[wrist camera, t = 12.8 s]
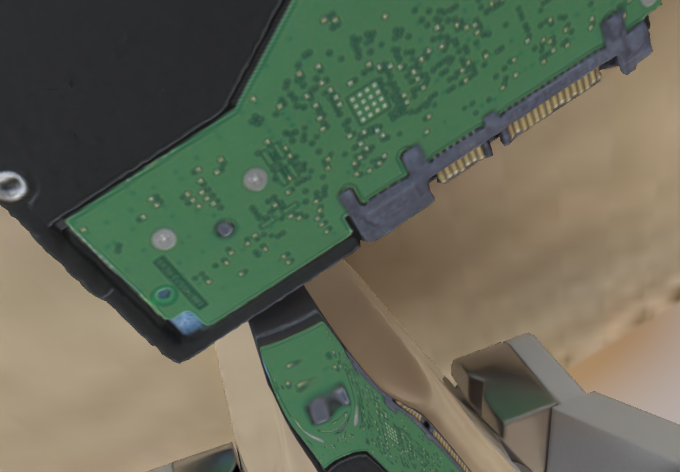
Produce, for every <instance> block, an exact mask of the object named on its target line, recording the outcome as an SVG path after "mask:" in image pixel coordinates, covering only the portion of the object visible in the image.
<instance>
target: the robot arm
mask: <svg viewBox="0 0 680 472" xmlns="http://www.w3.org/2000/svg"><path fill="white" fill-rule="evenodd" d="M451 374H452V376H453V378H454V380H455V381H456V383H457V385H456V387H455V388H456V389H457V390H458V391H459V393H460V394H461V395H462V396H463V397H464V398H465V399H466V401H467V402H468V403H469V404H470V405H471V406H472V407H473V408H474V409H475V411H476V412H477V413H478V414H479V415H480V416H481V417H482V418H483V419H484V420H485V421H486V422H487V423H488V424H489V425H490V426H491V427H492V428H493V429H494V430H495V431H496V432H497V433H498V434H499V435H500V436H501V437H502V439H503V440H504V441H505V442H506V443H507V444H508V445H509V446H510V447H511V448H512V449H513V450H514V451H515V452H516V454H517V455H518V456H519V457H520V458H521V459H522V460H523V461H524V462H525V463H526V464H527V465H528V467H529V468H530V469H531V470H532V471H533V472H680V425H679V424H676V423H673V422H671V421H669V420H666V419H664V418H661V417H658V416H656V415H653V414H651V413H648V412H646V411H643V410H641V409H638V408H636V407H633V406H631V405H628V404H625V403H623V402H621V401H618V400H615V399H613V398H610V397H608V396H605V395H602V394H600V393H597V392H595V391H593V392H590V393H586V392H585V391H584V390H583V389H582V388H581V387H580V386H579V384H578V383H577V382H576V381H575V380H574V379H573V378H572V377H571V376H570V374H569V373H568V372H567V371H566V370H565V369H564V368H563V367H562V366H561V365H560V363H559V362H558V361H557V360H556V359H555V358H554V357H553V356H552V355H551V353H550V352H549V351H548V350H547V349H546V348H545V347H544V346H543V345H542V344H541V342H540V341H539V340H538V339H537V338H536V337H535V336H534V335H532V334H530V333H525V334H522V335H520V336H517V337H514V338H512V339H509V340H506V341H504V342H499V343H496V344H494V345H491V346H489V347H486V348H483V349H481V350H478V351H475V352H473V353H470V354H468V355H465V356H462V357H460V358H457V359H454V360H453V362H452V365H451ZM146 472H241V467H240V463H239V459H238V456H237V453H236V450H235V448H234V445H233V443H232V442H231V443H228V444H225V445H222V446H219V447H216V448H213V449H210V450H207V451H204V452H201V453H198V454H195V455H192V456H189V457H186V458H183V459H180V460H177V461H174V462H172V463H169V464H166V465H163V466H161V467H158V468H155V469H152V470H149V471H146Z"/></svg>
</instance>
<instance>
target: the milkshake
mask: <svg viewBox="0 0 680 472" xmlns="http://www.w3.org/2000/svg"><path fill="white" fill-rule="evenodd" d="M214 345H215V350H216V355H217V360H218V364H219V369H220V374H221V378H222V383H223V387H224V392H225V397H226V401H227V406H228V411H229V415H230V420H231V425H232V429H233V434H234V439H235V443H236V448H237V453H238V457H239V462H240V467H241V472H533V471H532V470H531V469H530V468H529V467H528V465H527V464H526V463H525V462H524V461H523V460H522V459H521V458H520V457H519V456H518V455H517V454H516V452H515V451H514V450H513V449H512V448H511V447H510V446H509V445H508V444H507V443H506V442H505V441H504V440H503V439H502V437H501V436H500V435H499V434H498V433H497V432H496V431H495V430H494V429H493V428H492V427H491V426H490V425H489V424H488V423H487V422H486V421H485V420H484V419H483V418H482V417H481V416H480V415H479V414H478V413H477V412H476V411H475V409H474V408H473V407H472V406H471V405H470V404H469V403H468V402H467V401H466V399H465V398H464V397H463V396H462V395H461V394H460V393H459V391H458V390H457V389H456V388H455V387H454V386H453V384H452V383H451V382H450V381H449V380H448V379H447V378H446V376H445V375H444V374H443V373H442V372H441V371H440V369H439V368H438V367H437V366H436V365H435V364H434V362H433V361H432V360H431V359H430V358H429V357H428V355H427V354H426V353H425V352H424V351H423V350H422V348H421V347H420V346H419V345H418V344H417V343H416V341H415V340H414V339H413V338H412V337H411V336H410V334H409V333H408V332H407V331H406V330H405V329H404V327H403V326H402V325H401V324H400V323H399V322H398V321H397V319H396V318H395V317H394V316H393V315H392V314H391V312H390V311H389V310H388V309H387V308H386V307H385V305H384V304H383V303H382V302H381V301H380V300H379V298H378V297H377V296H376V295H375V294H374V293H373V291H372V290H371V289H370V288H369V287H368V286H367V284H366V283H365V282H364V281H363V280H362V279H361V277H360V276H359V275H358V274H357V273H356V272H355V270H354V269H353V268H352V267H351V266H350V265H349V264H348V263H347V262H346V261H345V260H344V259H342V260H340V261H339V262H338V263H336V264H335V265H333V266H332V267H330V268H329V269H327V270H325V271H323V272H322V273H320V274H319V275H318V276H317V277H315V278H313V279H312V280H311V281H309V282H307V283H305V284H304V285H302V286H300V287H299V288H298V289H296V290H295V291H293V292H291V293H290V294H288V295H286V296H285V297H284V298H283V299H282V300H280V301H278V302H276V303H274V304H273V305H272V306H271V307H269V308H267V309H266V310H264V311H262V312H261V313H259V314H257V315H255V316H254V317H253V318H251V319H250V320H249V321H248V322H246V323H244V324H242V325H241V326H239V327H238V328H237V329H235V330H233V331H231V332H230V333H228V334H227V335H226V336H224V337H223V338H221V339H218V340H217V341H216V342H214Z"/></svg>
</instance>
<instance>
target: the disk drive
mask: <svg viewBox="0 0 680 472" xmlns="http://www.w3.org/2000/svg"><path fill="white" fill-rule="evenodd" d="M660 5H662V2H661V0H0V205H1V206H2V207H4V208H5V209H6V210H8V211H9V213H10V215H11V216H12V217H14V218H16V219H18V221H19V222H20V223H21V224H22V226H24V227H25V228H26V229H27V230H28V231H29V232H30V234H31V235H32V237H33V238H34V239H35V240H36V241H37V242H38V243H39V244H40V245H41V246H42V247H43V248H44V250H45V251H46V252H47V253H49V254H50V255H51V256H52V257H53V258H54V259H56V260H57V261H59V262H60V263H61V264H62V265H63V266H64V267H65V269H66V270H67V272H68V273H69V274H70V275H71V276H72V277H73V278H75V279H76V280H78V281H79V282H80V283H81V285H82V286H83V287H84V288H85V289H86V290H87V291H88V292H90V293H91V294H93V295H94V296H96V297H98V298H100V299H102V300H104V301H107V302H108V303H109V304H110V305H111V306H112V307H113V308H114V309H116V310H117V312H118V313H119V314H120V315H121V316H122V317H123V318H124V319H125V320H126V321H127V322H128V323H129V324H130V325H131V326H132V327H133V328H134V329H135V330H136V331H137V332H138V333H139V334H140V335H142V336H143V337H144V338H145V339H146V340H147V341H148V342H149V343H150V344H151V345H152V346H156V347H157V348H158V349H159V351H160V352H161V353H162V355H165V356H166V357H168V358H169V359H171V360H172V361H173V362H176V363H179V364H180V363H181V362H183V361H186V360H189V359H190V358H192V357H194V356H195V355H197V354H198V353H200V352H201V351H203V350H205V349H206V348H207V347H209V346H210V345H211V344H213V343H214V342H216V341H217V340H218V339H221V338H223V337H224V336H226V335H227V334H228V333H230V332H231V331H233V330H235V329H237V328H238V327H239V326H241V325H242V324H244V323H246V322H248V321H249V320H250V319H251V318H253V317H254V316H255V315H257V314H259V313H261V312H262V311H264V310H266V309H267V308H269V307H271V306H272V305H273V304H274V303H276V302H278V301H280V300H282V299H283V298H284V297H285V296H286V295H288V294H290V293H291V292H293V291H295V290H296V289H298V288H299V287H300V286H302V285H304V284H305V283H307V282H309V281H311V280H312V279H313V278H315V277H317V276H318V275H319V274H320V273H322V272H323V271H325V270H327V269H329V268H330V267H332V266H333V265H335V264H336V263H338V262H339V261H340V260H342V259H343V258H344V257H346V256H348V255H350V254H352V253H353V252H354V251H355V250H357V249H358V248H360V240H363V241H366V242H370V243H371V242H373V241H375V240H378V239H379V238H381V237H382V236H384V235H386V234H388V233H390V232H391V231H393V230H394V229H395V228H396V227H397V226H399V225H401V224H402V223H404V222H405V221H406V220H408V219H409V218H411V217H413V216H414V215H416V214H417V213H418V212H420V211H421V210H423V209H425V208H426V207H428V206H429V205H431V204H432V203H433V202H434V201H435V200H434V196H433V194H432V193H431V191H430V188H429V182H431V181H432V180H434V179H435V178H437V183H443V184H445V183H447V182H449V181H450V180H452V179H453V178H455V177H456V176H458V175H459V174H461V173H462V172H464V171H465V170H467V169H468V168H470V167H471V166H472V165H474V164H475V163H477V162H478V161H480V160H482V159H484V158H487V157H491V156H493V152H492V148H491V145H490V143H491V142H492V141H494V140H495V139H497V138H498V137H500V141H501V142H502V144H503V145H504V146H506V145H509V144H510V143H511V142H512V141H513V140H514V139H515V138H516V137H517V136H518V135H520V134H522V133H523V132H525V131H526V130H528V129H529V128H530V127H532V126H533V125H534V124H536V123H537V122H539V121H541V120H542V119H544V118H545V117H547V116H549V115H550V114H551V113H553V112H554V111H556V110H557V109H559V108H560V107H562V106H563V105H565V104H566V103H568V102H569V101H571V100H573V99H574V98H576V97H577V96H579V95H580V94H582V93H583V92H585V91H586V90H588V89H589V88H591V87H592V86H594V85H595V84H596V83H598V82H599V81H601V76H602V75H601V73H600V72H599V71H600V70H601V69H606V68H612V67H615V66H619V67H620V69H621V72H622V73H623V74H626V75H628V74H629V73H631V72H632V71H633V70H635V69H636V66H637V63H639V62H640V61H641V60H643V59H644V58H646V57H647V56H648V55H649V54H650V53H651V52H653V50H652V46H651V42H650V33H649V28H650V22H649V16H648V14H649V13H650V12H652V11H654V10H655V9H656V8H657V7H658V6H660Z"/></svg>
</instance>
